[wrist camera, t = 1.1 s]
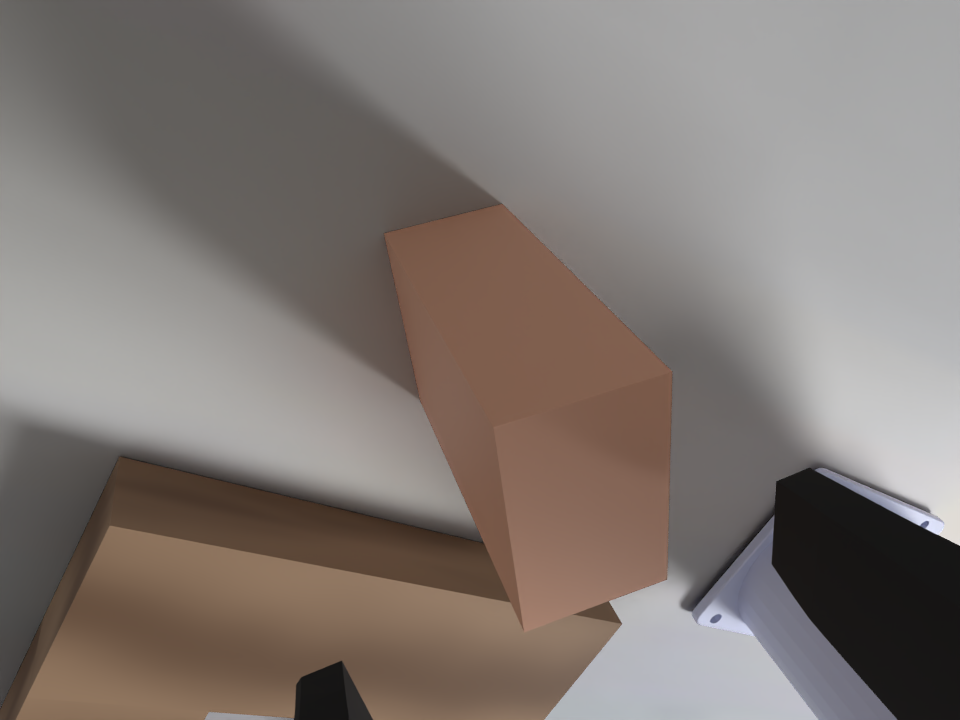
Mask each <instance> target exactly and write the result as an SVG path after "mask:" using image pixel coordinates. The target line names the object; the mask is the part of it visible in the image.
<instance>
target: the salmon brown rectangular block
mask: <svg viewBox="0 0 960 720" xmlns="http://www.w3.org/2000/svg"><path fill="white" fill-rule="evenodd" d="M384 236H385V241H386V246H387V250H388V255H389V259H390V264H391V269H392V273H393V278H394V283H395V287H396V292H397V296H398V301H399V306H400V310H401V315H402V320H403V324H404V329H405V333H406V338H407V343H408V347H409V352H410V356H411V361H412V366H413V370H414V375H415V380H416V384H417V389H418V393H419V398H420V401H421V403H422V406H423V408H424V410H425V412H426V415H427V417H428V419H429V421H430V424H431V426H432V428H433V430H434V432H435V435H436V437H437V439H438V441H439V444H440V446H441V448H442V450H443V453H444V455H445V457H446V459H447V461H448V464H449V466H450V468H451V470H452V473H453V475H454V477H455V479H456V482H457V484H458V486H459V488H460V490H461V493H462V495H463V497H464V499H465V502H466V504H467V506H468V508H469V511H470V513H471V515H472V517H473V519H474V522H475V524H476V526H477V528H478V531H479V533H480V535H481V537H482V540H483V542H484V544H485V546H486V548H487V551H488V553H489V555H490V557H491V560H492V562H493V564H494V566H495V569H496V571H497V573H498V575H499V577H500V580H501V582H502V584H503V586H504V589H505V591H506V593H507V595H508V598H509V600H510V602H511V604H512V607H513V609H514V611H515V613H516V615H517V618H518V620H519V622H520V624H521V627H522V629H523V631H524V632H527V631H530V630H532V629H535V628H538V627H540V626H543V625H546V624H548V623H551V622H554V621H557V620H559V619H562V618H565V617H567V616H570V615H573V614H575V613H578V612H581V611H584V610H586V609H589V608H592V607H594V606H597V605H600V604H602V603H605V602H608V601H610V600H613V599H616V598H619V597H621V596H624V595H627V594H629V593H632V592H635V591H637V590H640V589H643V588H645V587H648V586H651V585H654V584H656V583H659V582H662V581H664V580H667V565H668V526H669V486H670V447H671V407H672V371H671V370H670V369H669V368H668V367H667V366H666V365H665V364H664V363H663V362H662V361H661V360H660V359H659V358H658V357H657V356H656V355H655V354H654V353H653V352H652V351H651V350H650V349H649V348H648V347H647V346H646V345H645V344H644V343H643V342H642V341H641V340H640V339H639V338H638V337H637V336H636V335H635V334H634V333H633V332H632V331H631V330H630V329H629V328H628V327H627V326H626V325H625V324H624V323H623V322H622V321H620V320H619V319H618V318H617V317H616V316H615V315H614V314H613V313H612V312H611V311H610V310H609V309H608V308H607V307H606V306H605V305H604V304H603V303H602V302H601V301H600V300H599V299H598V298H597V297H596V296H595V295H594V294H593V293H592V292H591V291H590V290H589V289H588V288H587V287H586V286H585V285H584V284H583V283H582V282H581V281H580V280H579V279H578V278H577V277H576V276H575V275H574V274H573V273H572V272H571V271H570V270H569V269H568V268H567V267H566V266H565V265H564V264H563V263H562V262H561V261H560V260H559V259H558V258H557V257H556V256H555V255H554V254H553V253H552V252H551V251H550V250H549V249H548V248H547V247H545V246H544V245H543V244H542V243H541V242H540V241H539V240H538V239H537V238H536V237H535V236H534V235H533V234H532V233H531V232H530V231H529V230H528V229H527V228H526V227H525V226H524V225H523V224H522V223H521V222H520V221H519V220H518V219H517V218H516V217H515V216H514V215H513V214H512V213H511V212H510V211H509V210H508V209H507V208H506V207H505V206H504V205H503V204H499V205H495V206H491V207H487V208H483V209H479V210H475V211H471V212H467V213H463V214H459V215H455V216H451V217H447V218H443V219H439V220H435V221H431V222H427V223H423V224H419V225H415V226H411V227H407V228H403V229H399V230H395V231H391V232H387V233H384Z"/></svg>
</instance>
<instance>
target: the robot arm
mask: <svg viewBox="0 0 960 720" xmlns="http://www.w3.org/2000/svg"><path fill="white" fill-rule="evenodd" d="M943 528H944V522H943V521H942V520H941V519H940V518H938V517H937V516H935V515H933V514H930V513H928V512H926V511H923V510H921V509H919V508H916V507H914V506H912V505H909V504H907V503H905V502H902V501H900V500H898V499H895V498H893V497H891V496H888V495H886V494H884V493H881V492H879V491H877V490H874V489H872V488H870V487H867V486H865V485H863V484H860V483H858V482H856V481H853V480H851V479H849V478H846V477H844V476H842V475H839V474H837V473H835V472H832V471H830V470H828V469H825V468H818V469H815V470H813V469H811V468H808V469H806V470H803V471H801V472H798V473H796V474H793V475H791V476H789V477H786V478H784V479H781V480H779V481H776V497H775V514H774V516H773V517H772V518H771V519H770V520H769V521H768V523H767V524H766V525H765V526H764V527H763V528H762V530H761V531H760V532H759V533H758V534H757V535H756V537H755V538H754V539H753V540H752V541H751V543H750V544H749V545H748V546H747V547H746V548H745V550H744V551H743V552H742V553H741V554H740V555H739V557H738V558H737V559H736V560H735V561H734V562H733V564H732V565H731V566H730V567H729V568H728V569H727V571H726V572H725V573H724V574H723V575H722V577H721V578H720V579H719V580H718V581H717V582H716V584H715V585H714V586H713V587H712V588H711V589H710V591H709V592H708V593H707V594H706V595H705V596H704V598H703V599H702V600H701V601H700V602H699V604H698V605H697V606H696V607H695V608H694V610H693V612H692V616H693V618H694V620H695V621H696V623H697V624H699V625H703V626H708V627H713V628H717V629H722V630H727V631H732V632H737V633H742V634H746V635H751V636H755V637H756V638H757V639H758V641H759V642H760V643H761V645H762V646H763V647H764V649H765V650H766V651H767V653H768V654H769V655H770V657H771V658H772V659H773V661H774V662H775V663H776V664H777V666H778V667H779V668H780V670H781V671H782V672H783V674H784V675H785V676H786V678H787V679H788V680H789V682H790V683H791V684H792V686H793V687H794V688H795V689H796V691H797V692H798V693H799V695H800V696H801V697H802V699H803V700H804V701H805V703H806V704H807V705H808V707H809V708H810V709H811V710H812V712H813V713H814V714H815V716H816V717H817V718H818V720H960V546H959V545H957V544H955V543H953V542H951V541H949V540H947V539H945V538H943V537H941V536H939V534H940V533H941V531H942V530H943ZM294 720H373V719H372V717H371V715H370V713H369V711H368V709H367V707H366V705H365V703H364V701H363V700H362V698H361V696H360V694H359V692H358V690H357V688H356V686H355V684H354V682H353V681H352V679H351V677H350V675H349V673H348V671H347V669H346V667H345V665H344V663H343V662H342V661H339V662H337V663H334V664H332V665H329V666H327V667H325V668H322V669H320V670H317V671H315V672H312V673H310V674H308V675H305V676H303V677H301V678H300V680H299V681H298V683H297V684H296V699H295V715H294Z"/></svg>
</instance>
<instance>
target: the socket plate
mask: <svg viewBox="0 0 960 720" xmlns="http://www.w3.org/2000/svg"><path fill="white" fill-rule="evenodd" d="M621 625H622V623H621V621H620V620H619V618H618V616H617V614H616V613H615V611H614V609H613V608H612V606H611V604H610V603H609V601H608V602H605V603H602V604H600V605H597V606H594V607H592V608H589V609H586V610H584V611H581V612H578V613H575V614H573V615H570V616H567V617H565V618H562V619H559V620H557V621H554V622H551V623H548V624H546V625H543V626H540V627H538V628H535V629H532V630H530V631H527V632H524V631H523V629H522V627H521V624H520V622H519V620H518V618H517V615H516V613H515V611H514V609H513V607H512V604H511V602H510V600H509V598H508V595H507V593H506V591H505V589H504V586H503V584H502V582H501V580H500V577H499V575H498V573H497V571H496V569H495V566H494V564H493V562H492V560H491V557H490V555H489V553H488V551H487V548H486V546H485V544H484V543H480V542H476V541H472V540H467V539H463V538H459V537H455V536H451V535H446V534H442V533H438V532H434V531H430V530H425V529H421V528H417V527H413V526H409V525H404V524H400V523H396V522H392V521H388V520H383V519H379V518H375V517H371V516H367V515H363V514H358V513H354V512H350V511H346V510H342V509H337V508H333V507H329V506H325V505H321V504H316V503H312V502H308V501H304V500H300V499H295V498H291V497H287V496H283V495H279V494H275V493H270V492H266V491H262V490H258V489H254V488H249V487H245V486H241V485H237V484H233V483H228V482H224V481H220V480H216V479H212V478H207V477H203V476H199V475H195V474H191V473H187V472H182V471H178V470H174V469H170V468H166V467H161V466H157V465H153V464H149V463H145V462H140V461H136V460H132V459H128V458H124V457H119V458H118V460H117V463H116V465H115V467H114V469H113V471H112V473H111V475H110V477H109V480H108V482H107V484H106V486H105V488H104V490H103V492H102V494H101V497H100V499H99V501H98V503H97V505H96V507H95V509H94V511H93V514H92V516H91V518H90V520H89V522H88V524H87V526H86V528H85V531H84V533H83V535H82V537H81V539H80V541H79V543H78V545H77V547H76V550H75V552H74V554H73V556H72V558H71V560H70V562H69V564H68V567H67V569H66V571H65V573H64V575H63V577H62V579H61V581H60V584H59V586H58V588H57V590H56V592H55V594H54V596H53V598H52V601H51V603H50V605H49V607H48V609H47V611H46V613H45V615H44V617H43V620H42V622H41V624H40V626H39V628H38V630H37V632H36V634H35V637H34V639H33V641H32V643H31V645H30V647H29V649H28V651H27V654H26V656H25V658H24V660H23V662H22V664H21V666H20V668H19V671H18V673H17V675H16V677H15V679H14V681H13V683H12V685H11V687H10V690H9V692H8V694H7V696H6V698H5V700H4V702H3V704H2V707H1V709H0V720H204V719H205V717H206V716H207V714H208V712H219V713H232V714H246V715H259V716H272V717H285V718H294V715H295V699H296V684H297V683H298V681H299V680H300V678H301V677H303V676H305V675H308V674H310V673H312V672H315V671H317V670H320V669H322V668H325V667H327V666H329V665H332V664H334V663H337V662H339V661H342V662H343V663H344V665H345V667H346V669H347V671H348V673H349V675H350V677H351V679H352V681H353V682H354V684H355V686H356V688H357V690H358V692H359V694H360V696H361V698H362V700H363V701H364V703H365V705H366V707H367V709H368V711H369V713H370V715H371V717H372V719H373V720H544V719H545V718H546V717H547V715H548V714H549V713H550V712H551V710H552V709H553V708H554V707H555V706H556V704H557V703H558V702H559V701H560V699H561V698H562V697H563V696H564V695H565V693H566V692H567V691H568V690H569V688H570V687H571V686H572V685H573V684H574V682H575V681H576V680H577V679H578V677H579V676H580V675H581V674H582V673H583V671H584V670H585V669H586V668H587V666H588V665H589V664H590V663H591V662H592V660H593V659H594V658H595V657H596V655H597V654H598V653H599V652H600V651H601V649H602V648H603V647H604V646H605V644H606V643H607V642H608V641H609V640H610V638H611V637H612V636H613V635H614V633H615V632H616V631H617V630H618V628H619V627H620V626H621Z"/></svg>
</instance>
